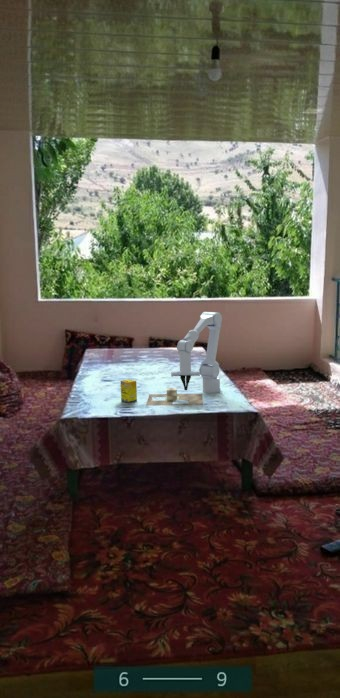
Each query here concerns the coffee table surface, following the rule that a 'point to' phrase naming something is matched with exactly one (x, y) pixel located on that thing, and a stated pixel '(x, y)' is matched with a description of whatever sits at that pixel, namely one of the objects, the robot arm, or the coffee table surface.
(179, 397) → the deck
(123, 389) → the supplement box
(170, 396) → the block
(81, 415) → the coffee table surface
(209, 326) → the robot arm
